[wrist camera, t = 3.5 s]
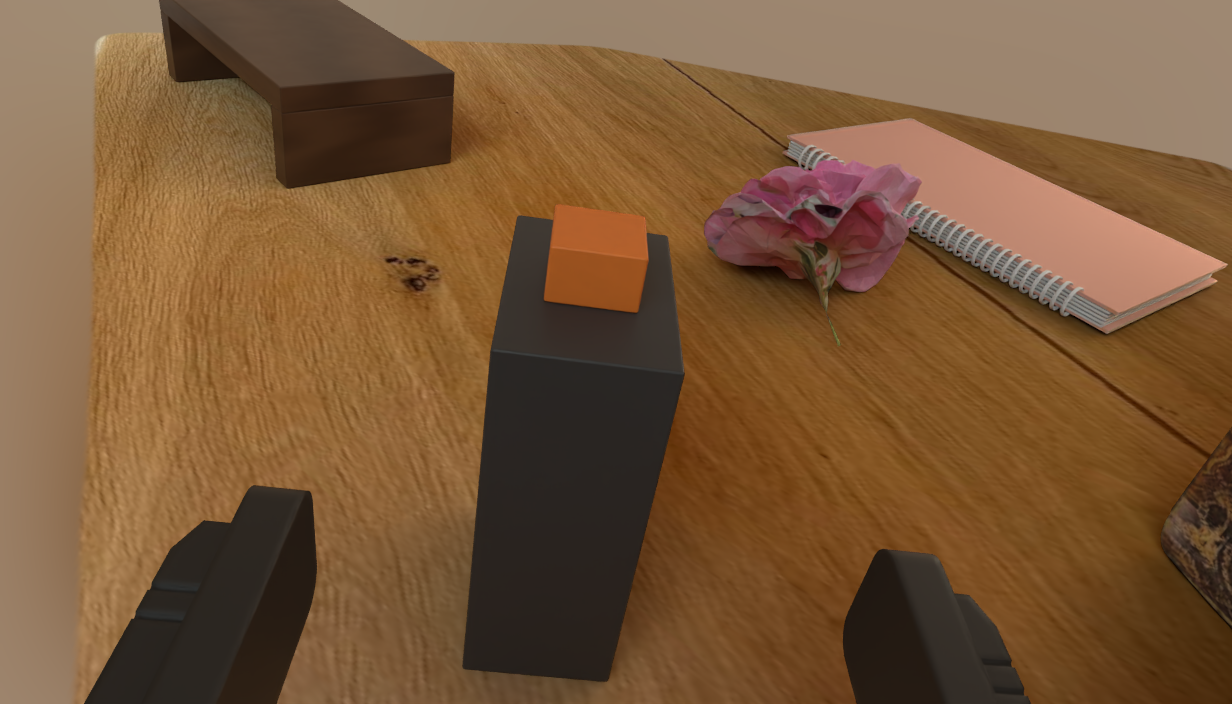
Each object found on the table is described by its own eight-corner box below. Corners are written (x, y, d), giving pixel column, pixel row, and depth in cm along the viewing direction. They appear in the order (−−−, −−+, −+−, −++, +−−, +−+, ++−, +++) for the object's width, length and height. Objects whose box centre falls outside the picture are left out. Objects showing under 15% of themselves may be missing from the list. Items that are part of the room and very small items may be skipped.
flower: (701, 291, 54) (773, 149, 54) (847, 361, 52) (924, 212, 51) (668, 257, 43) (758, 77, 43) (851, 343, 41) (948, 153, 40)
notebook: (772, 157, 67) (778, 133, 66) (904, 137, 76) (911, 115, 75) (1096, 341, 50) (1112, 312, 49) (1213, 286, 59) (1230, 260, 58)
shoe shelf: (286, 188, 50) (279, 87, 47) (169, 75, 61) (156, -14, 58) (450, 162, 57) (455, 72, 53) (316, 64, 68) (313, -16, 65)
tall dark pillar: (462, 669, 26) (495, 288, 18) (488, 505, 32) (522, 163, 24) (607, 683, 27) (699, 315, 19) (608, 518, 32) (678, 185, 25)
